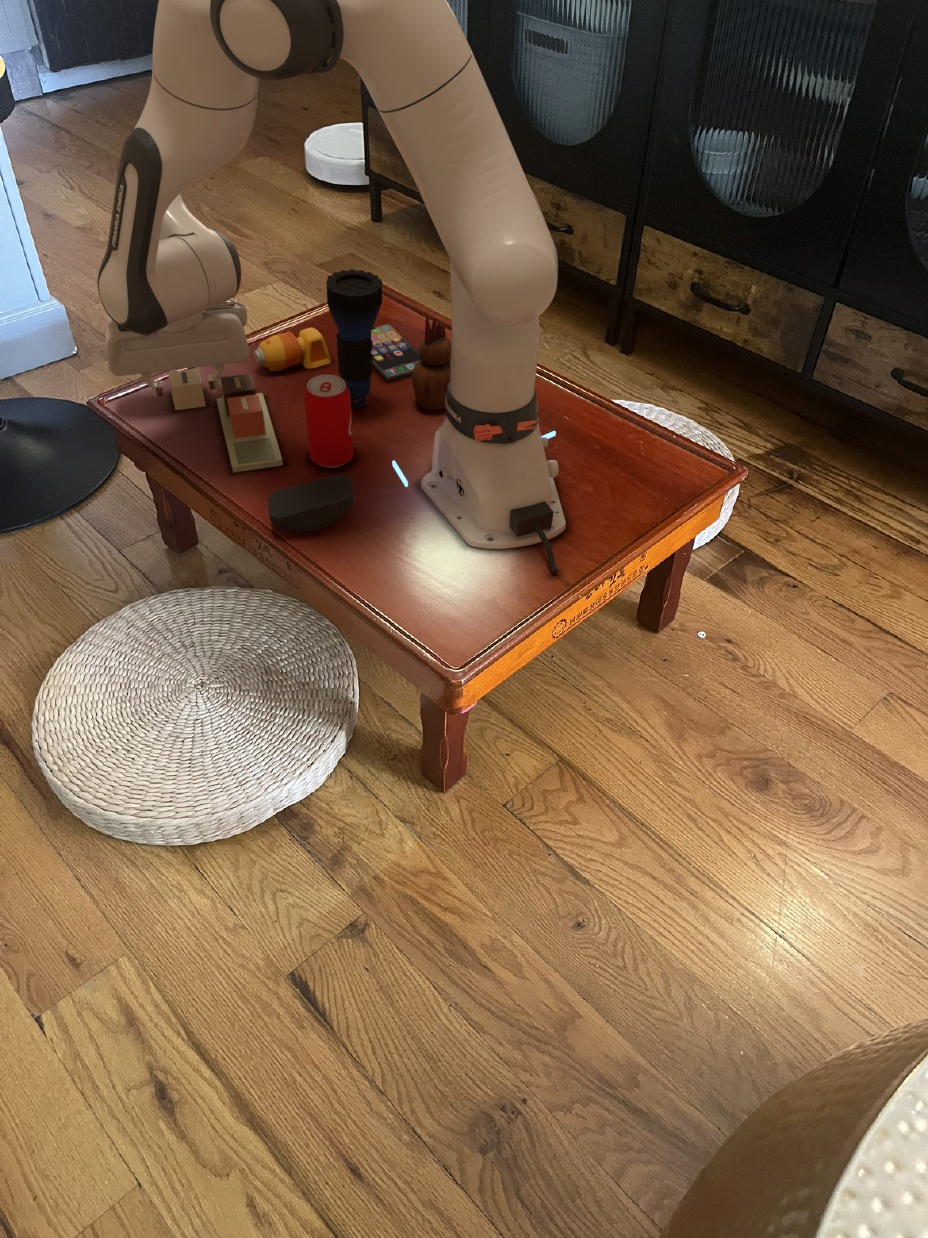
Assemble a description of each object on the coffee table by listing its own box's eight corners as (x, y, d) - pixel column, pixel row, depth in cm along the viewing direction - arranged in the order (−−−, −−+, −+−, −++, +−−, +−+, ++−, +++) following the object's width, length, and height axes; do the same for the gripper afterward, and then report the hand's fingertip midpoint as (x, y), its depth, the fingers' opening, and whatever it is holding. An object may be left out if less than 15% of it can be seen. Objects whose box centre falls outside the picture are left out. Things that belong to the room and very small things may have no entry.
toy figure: (264, 381, 148) (333, 363, 152) (259, 350, 144) (331, 331, 148) (251, 365, 151) (319, 348, 155) (246, 334, 147) (316, 317, 151)
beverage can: (357, 447, 136) (353, 374, 127) (349, 472, 131) (345, 398, 123) (314, 443, 136) (308, 370, 128) (305, 468, 132) (298, 394, 123)
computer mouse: (268, 521, 118) (278, 545, 121) (354, 497, 119) (362, 522, 121) (265, 493, 123) (275, 517, 126) (348, 471, 123) (356, 495, 126)
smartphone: (387, 381, 149) (387, 374, 148) (347, 339, 158) (346, 332, 157) (431, 369, 152) (431, 363, 151) (389, 329, 161) (389, 322, 160)
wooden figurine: (421, 418, 142) (422, 327, 131) (407, 399, 146) (406, 308, 135) (461, 409, 144) (465, 319, 133) (447, 391, 148) (449, 301, 137)
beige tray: (283, 465, 132) (279, 434, 129) (233, 472, 130) (227, 441, 127) (263, 398, 144) (259, 368, 140) (217, 404, 142) (212, 374, 139)
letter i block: (205, 406, 142) (201, 382, 139) (175, 410, 141) (170, 386, 138) (202, 391, 145) (198, 367, 142) (172, 394, 144) (167, 370, 141)
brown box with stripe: (253, 396, 142) (250, 372, 139) (258, 412, 139) (255, 388, 136) (224, 400, 141) (220, 376, 138) (227, 416, 138) (223, 392, 135)
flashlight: (395, 409, 143) (393, 284, 129) (353, 426, 140) (346, 300, 125) (365, 386, 148) (360, 263, 133) (323, 403, 144) (313, 278, 130)
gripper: (241, 287, 136) (252, 372, 146) (94, 302, 131) (116, 388, 141) (247, 307, 132) (258, 393, 142) (96, 323, 127) (118, 411, 137)
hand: (186, 391), depth 142 cm, fingers open, 7 cm apart
